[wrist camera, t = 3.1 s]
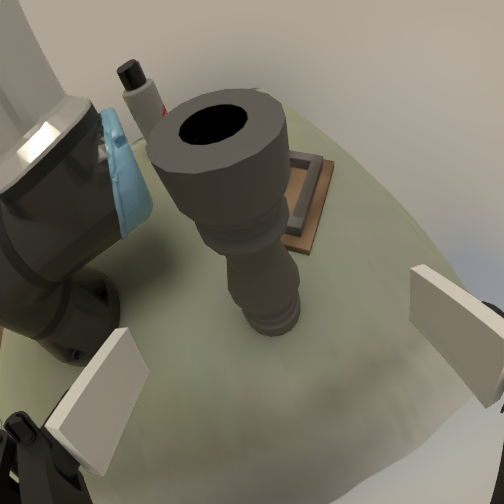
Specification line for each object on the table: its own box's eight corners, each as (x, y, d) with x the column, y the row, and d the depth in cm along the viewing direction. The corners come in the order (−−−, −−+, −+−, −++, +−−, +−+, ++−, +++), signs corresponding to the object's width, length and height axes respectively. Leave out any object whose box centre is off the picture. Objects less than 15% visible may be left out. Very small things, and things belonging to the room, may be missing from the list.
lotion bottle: (186, 141, 50) (149, 53, 32) (169, 161, 47) (125, 70, 30) (165, 138, 51) (127, 57, 34) (148, 157, 49) (103, 75, 32)
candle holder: (298, 338, 30) (291, 175, 8) (243, 334, 31) (117, 187, 9) (301, 286, 32) (292, 81, 11) (249, 284, 34) (167, 96, 12)
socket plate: (197, 227, 39) (190, 214, 36) (239, 151, 45) (235, 137, 43) (309, 255, 34) (309, 242, 31) (333, 166, 41) (334, 151, 38)
